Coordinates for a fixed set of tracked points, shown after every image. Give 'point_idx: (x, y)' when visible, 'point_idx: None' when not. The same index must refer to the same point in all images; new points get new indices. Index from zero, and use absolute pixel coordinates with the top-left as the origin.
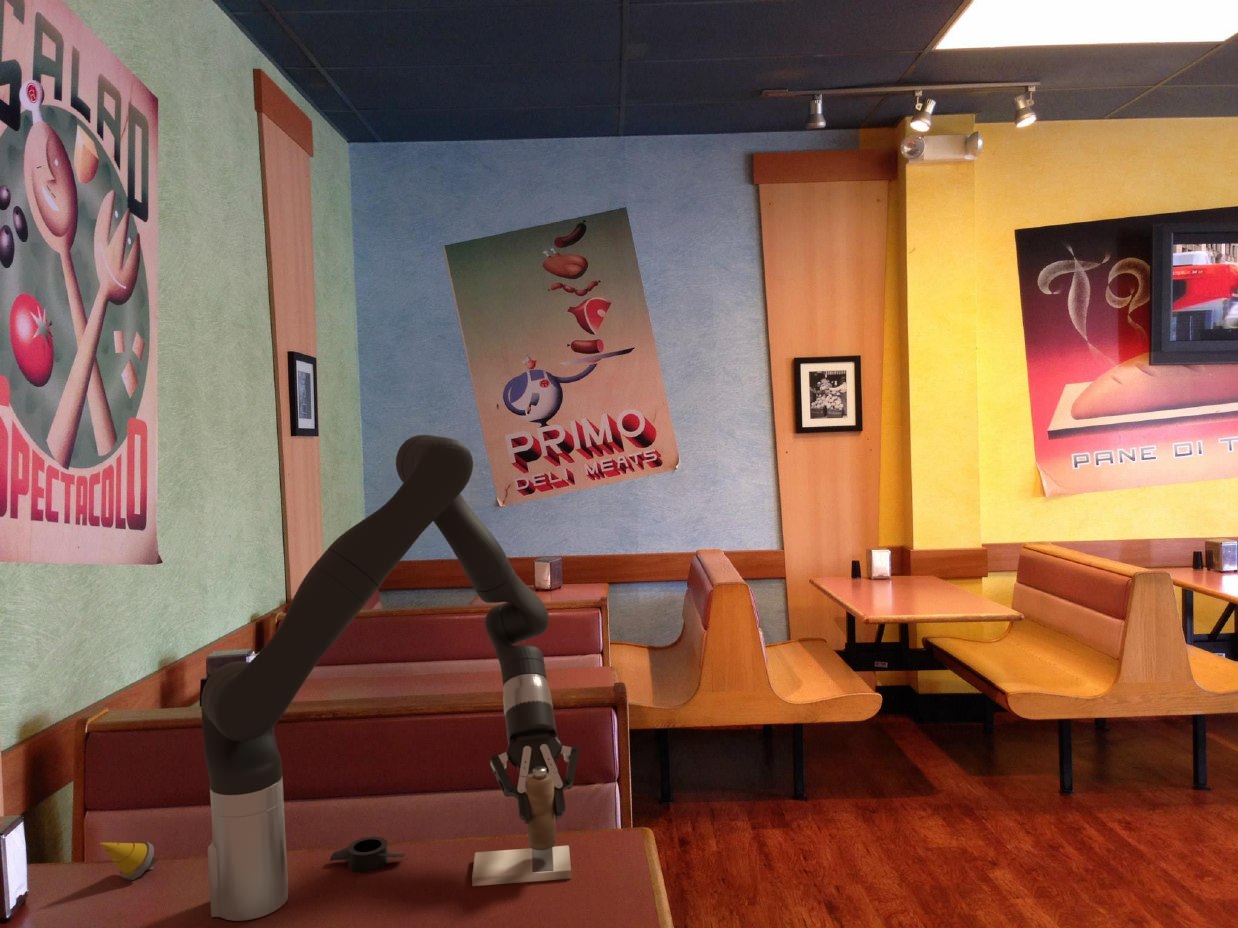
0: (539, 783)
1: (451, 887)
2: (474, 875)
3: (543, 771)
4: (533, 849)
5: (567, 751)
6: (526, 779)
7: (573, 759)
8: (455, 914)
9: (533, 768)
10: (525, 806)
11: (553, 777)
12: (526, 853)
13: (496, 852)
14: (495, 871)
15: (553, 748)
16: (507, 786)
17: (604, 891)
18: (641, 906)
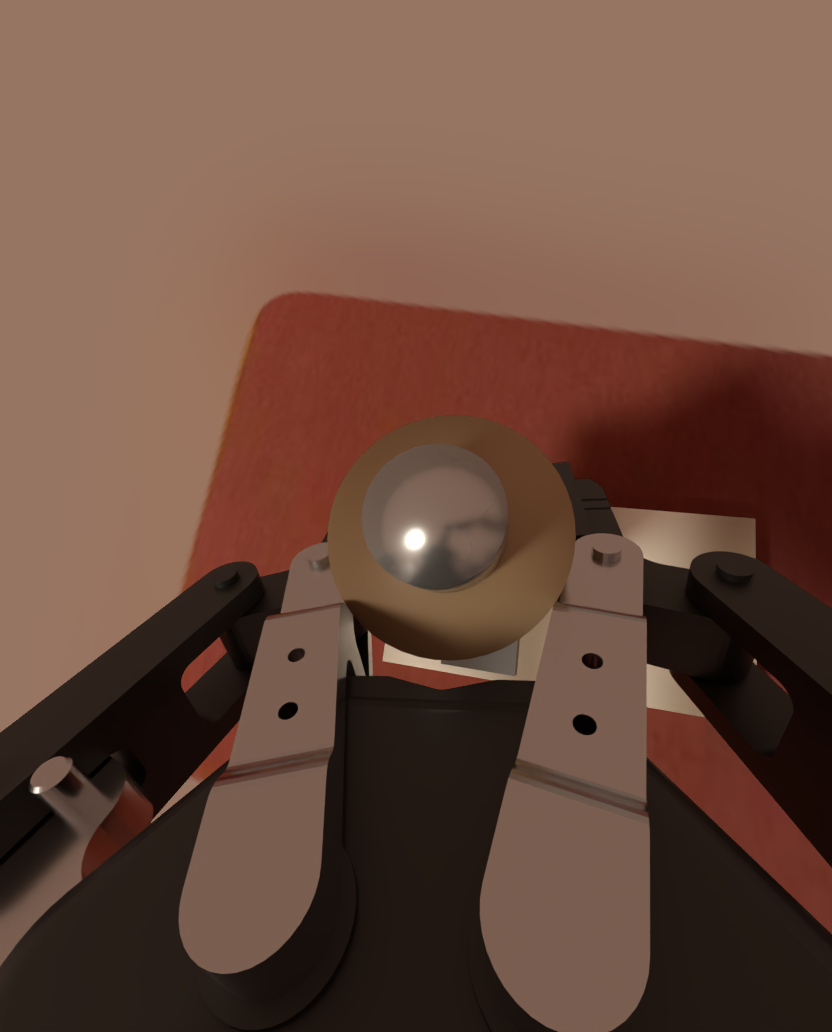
0: (465, 420)
1: (823, 534)
2: (746, 534)
3: (403, 453)
4: (510, 667)
5: (40, 862)
6: (573, 513)
7: (76, 705)
8: (786, 370)
9: (496, 541)
10: (569, 490)
11: (336, 505)
12: (539, 648)
13: (660, 695)
14: (663, 542)
15: (140, 907)
16: (746, 561)
17: (344, 412)
18: (282, 334)
